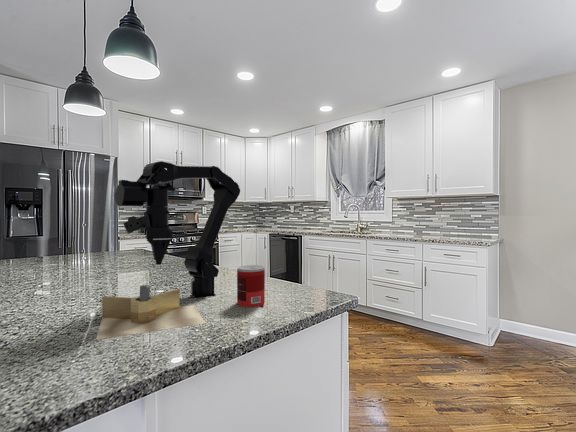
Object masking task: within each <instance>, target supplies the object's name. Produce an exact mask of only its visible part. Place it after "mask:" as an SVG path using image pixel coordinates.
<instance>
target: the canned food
mask: <svg viewBox="0 0 576 432" xmlns="http://www.w3.org/2000/svg"><path fill="white" fill-rule="evenodd" d="M265 269H266V268H265V266H263V265H257V264H250V265H249V264H248V265H241V266H238V267H237V269H236V286H237V287H236V292H237V293H236V294H237V295H236V298H237V299H236V303H237V305H238V306H239V307H242V308H255V307H256V308H257V307H259V308H263V307H264V306H265V303H266V302H265V299H266V298H265V293H266V292H265V291H266V289H265V287H266V286H265V285H266V283H265V281H266V278H265V277H266V275H265V274H266V273H265V271H266V270H265Z"/></svg>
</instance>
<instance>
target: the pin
mask: <svg viewBox="0 0 576 432" xmlns="http://www.w3.org/2000/svg"><path fill="white" fill-rule="evenodd" d="M150 294H151V285H150V284H149V285H148V284H143V285H140V286H139V296H140V298H139V301H144V300H149V298H150V296H151V295H150Z"/></svg>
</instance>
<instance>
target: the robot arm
mask: <svg viewBox="0 0 576 432" xmlns="http://www.w3.org/2000/svg"><path fill="white" fill-rule="evenodd" d="M186 179H187V180H188V179H206V180H207V182H208V184H209V186H210V187H209V188H211V189H212V190H213V191H214V192H213V206H212V208H211V210H210V213H209V215H208V218H207V220H206V223H205V224H204V228H203V230H202V232H201V234H200V237H199V239H198V242H197V243H196V244H195V245H194V246H193V245H190V246H188V248H187V251H186V254H185V255H184V256H183V258H184V263H183V265H184V266H185V269H186V270H187V271H188V273H189V276H192V280H191V281H190V294H191V296H192V297H193V298H194V299H201V298H202V299H203V298H208V297H216V296H217V295H216V293H215V278H217V277H218V275H219V269H218V268H217V267H216V265H214V263H213V261H214V257H215V256H214V246H215V243H216V241H217V237H218V235H219V233H220V231H221V228H222V225H223V222H224V220H225V218H226V215H227V212H228V210H229V209H230V207H232V205H233V204H234V203H236V201H237V199H238V198H239V195H240V194H241V188H240V186H239V184H238V182H236V181H234V179H233V178H232V177H231V176H229V175H228V174H226V173H225V172H223V171H222V169H221V168H220V167H219V166H217V165H211V166H208V165H207V166H200V165H198V166H197V165H196V166H195V165H177V164H174V163H173V162H172V163H171V162H168V161H167V162H166V161H161V160H160V161H156V162H151V163H147V164H146V165H145V166H144V167H143V170H142V173H141V175H140V177H139V178H138V179H137V180H136V181H130V180H127V179H119V180H118V184H117V187H116V189H115V192H114V201H115V204H116V205H117V206H118V207H142V206H143V207H144V204H146V205H145V207H146V209H145V211H144V215H143V216H139V217H136V216H135V215H132V216H129V217H128V218H127V221H125V222H123V223H122V224H123V226H124V229H125V231H126V233H127V234H131V233H134V232H135V231H138V230H141V229H144V230H143V232H144V233H143V234H144V237H145V239H146V242H148V243H149V244H150V247H151V250H152V256H153V260H154V261H155V264H156V265H162V262H163V259H164V257H165V255H166V253H167V250H168V248H169V246H170V243H171V242H172V239H173V230H172V229H171V228H170V225H169V214H170V210H169V192H170V193H171V192H176V188H175V187H174V186H172V185H171V183H169V182H171V181H175V180H186ZM159 183H164V184H159ZM147 186H151V187H147Z"/></svg>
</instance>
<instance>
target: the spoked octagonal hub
mask: <svg viewBox="0 0 576 432" xmlns="http://www.w3.org/2000/svg"><path fill="white" fill-rule="evenodd" d="M139 298H140V295H139V296H136V297H127V296H126V297H125V296H124V297H123V296H102V297H101V300H102V301H101V302H102V303H101V305H102V306H101V307H102V308H101V309H102V310H101V311H102V313H101V314H102V315H101V316H102V317H101V319H102V318H117V319H131V323H137V324H140V323H147V322H151V321H153V320H155V319H156V316H157V315H160V314H163V313H166V312H169V311H172V310H175V309H178V308H179V307H180V289H179V288H176V289H173V290H169V291H165V292H162V293H158V294H154V295H150V298H149V300H144V301H139Z"/></svg>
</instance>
